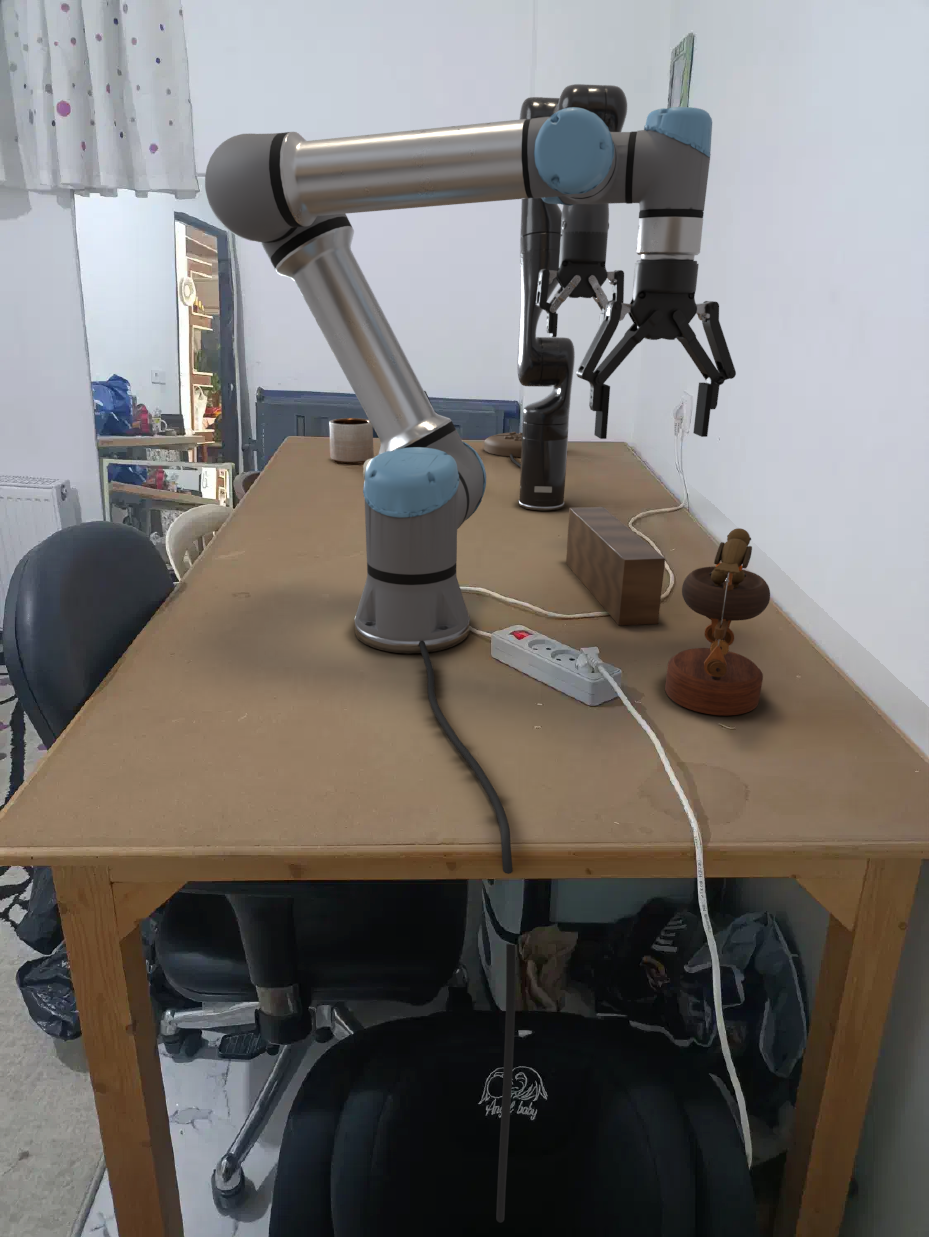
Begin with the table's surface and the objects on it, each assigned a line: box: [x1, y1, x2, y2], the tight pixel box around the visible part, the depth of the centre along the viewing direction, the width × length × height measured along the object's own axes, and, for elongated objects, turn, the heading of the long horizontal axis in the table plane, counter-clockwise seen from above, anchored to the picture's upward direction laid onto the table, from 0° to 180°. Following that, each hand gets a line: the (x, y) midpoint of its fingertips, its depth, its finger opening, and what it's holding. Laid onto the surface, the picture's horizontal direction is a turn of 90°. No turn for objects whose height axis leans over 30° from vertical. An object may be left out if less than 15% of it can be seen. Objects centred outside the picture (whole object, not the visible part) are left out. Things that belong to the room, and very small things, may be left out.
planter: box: [328, 417, 375, 464], centre depth 212 cm, size 11×11×10 cm
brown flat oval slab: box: [483, 431, 522, 458], centre depth 222 cm, size 21×28×4 cm
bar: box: [565, 506, 666, 626], centre depth 127 cm, size 27×6×10 cm, turn 9°
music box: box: [664, 527, 771, 716], centre depth 94 cm, size 15×11×20 cm
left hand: (650, 436), depth 110 cm, fingers open, 13 cm apart
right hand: (577, 337), depth 141 cm, fingers open, 8 cm apart
